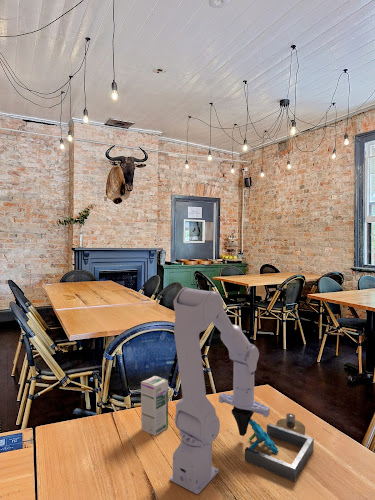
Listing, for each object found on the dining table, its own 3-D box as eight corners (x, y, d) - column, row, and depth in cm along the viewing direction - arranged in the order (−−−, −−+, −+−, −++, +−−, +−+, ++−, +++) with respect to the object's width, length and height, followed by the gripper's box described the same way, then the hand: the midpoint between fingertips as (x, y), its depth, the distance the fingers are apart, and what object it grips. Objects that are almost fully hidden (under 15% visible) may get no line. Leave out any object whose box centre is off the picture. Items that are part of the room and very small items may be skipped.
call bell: (299, 443, 94) (300, 425, 94) (272, 434, 99) (272, 416, 99) (308, 430, 101) (308, 414, 100) (282, 422, 105) (282, 406, 105)
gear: (284, 456, 86) (255, 426, 87) (267, 474, 85) (239, 443, 86) (274, 437, 97) (249, 410, 98) (259, 452, 96) (234, 425, 97)
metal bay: (294, 481, 79) (294, 469, 79) (244, 461, 87) (244, 449, 86) (313, 449, 92) (313, 438, 92) (268, 433, 99) (268, 423, 99)
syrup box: (155, 436, 97) (155, 386, 96) (140, 429, 100) (140, 380, 100) (168, 428, 101) (168, 379, 101) (153, 421, 105) (154, 374, 105)
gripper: (274, 387, 94) (273, 436, 94) (227, 374, 102) (227, 419, 103) (264, 396, 88) (263, 448, 89) (215, 382, 97) (214, 430, 97)
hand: (243, 433), depth 95 cm, fingers closed
